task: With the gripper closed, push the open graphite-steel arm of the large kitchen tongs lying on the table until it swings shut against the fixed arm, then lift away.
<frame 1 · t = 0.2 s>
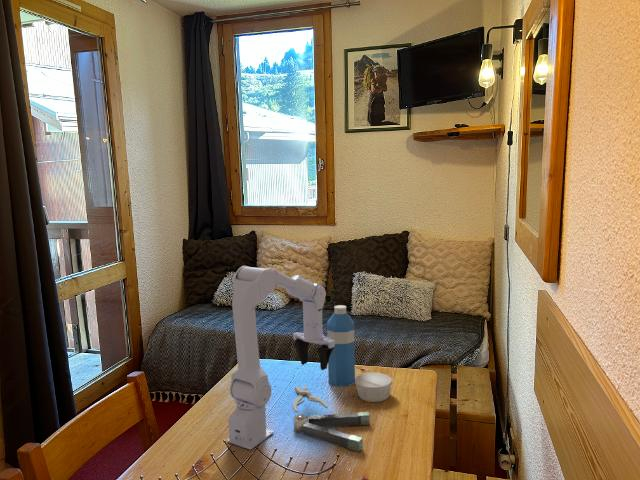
hand: (314, 366, 145), 10 cm above the table, tool pointing down, fingers open, 7 cm apart
tongs frame: (300, 429, 126), on the table
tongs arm: (338, 419, 128), point 2 cm above the table, hinge at 35.0°
pliers: (305, 400, 145), on the table
water bottle: (341, 381, 157), on the table
ramekin: (373, 396, 146), on the table
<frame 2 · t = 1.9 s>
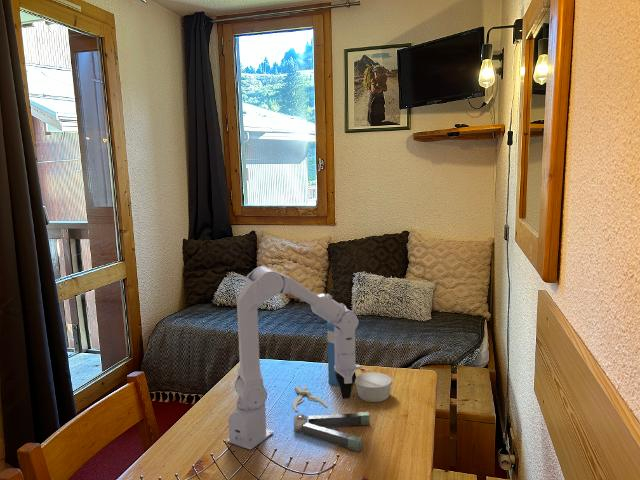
hand: (345, 397, 133), 5 cm above the table, tool pointing down, fingers closed
nothing on the table moved.
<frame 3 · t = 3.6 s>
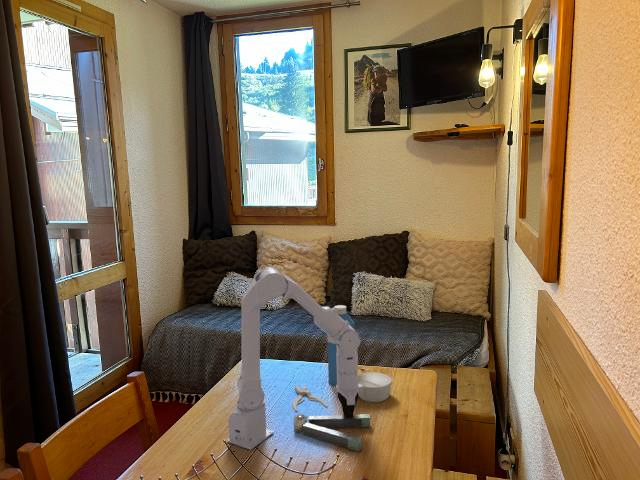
hand: (348, 418, 129), 1 cm above the table, tool pointing down, fingers closed
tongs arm: (339, 420, 127), point 2 cm above the table, hinge at 30.6°, touching gripper
everything else where it was.
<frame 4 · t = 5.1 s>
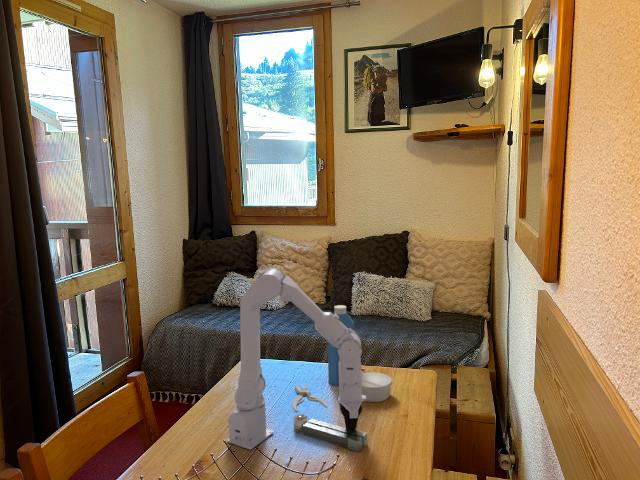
hand: (351, 431, 122), 1 cm above the table, tool pointing down, fingers closed
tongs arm: (336, 431, 122), point 2 cm above the table, hinge at -0.2°, touching gripper
everything else where it was.
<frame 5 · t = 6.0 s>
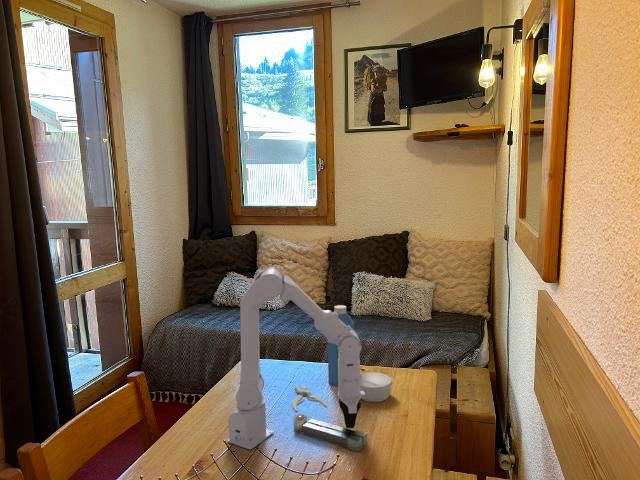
hand: (350, 426, 125), 1 cm above the table, tool pointing down, fingers closed
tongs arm: (336, 431, 122), point 2 cm above the table, hinge at -0.3°
everything else where it was.
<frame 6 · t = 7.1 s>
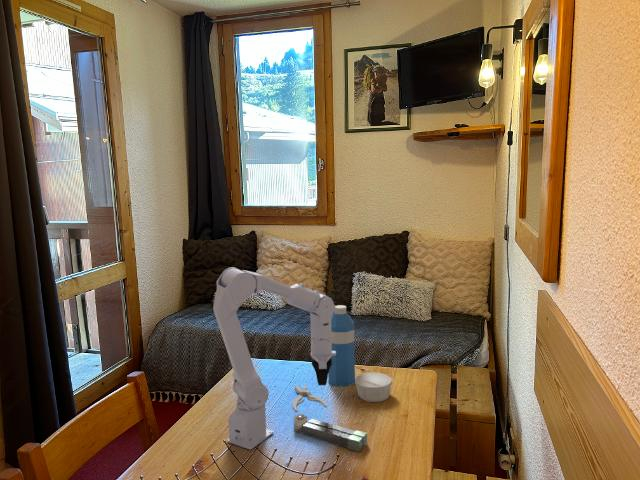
hand: (322, 384, 133), 9 cm above the table, tool pointing down, fingers closed
nothing on the table moved.
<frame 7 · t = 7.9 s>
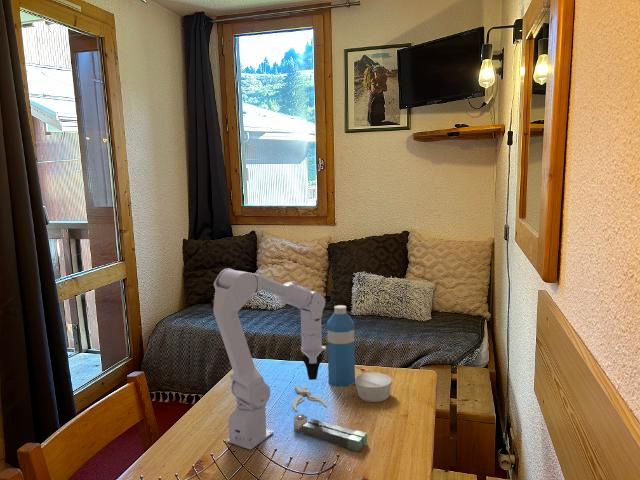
hand: (312, 378, 136), 9 cm above the table, tool pointing down, fingers closed
nothing on the table moved.
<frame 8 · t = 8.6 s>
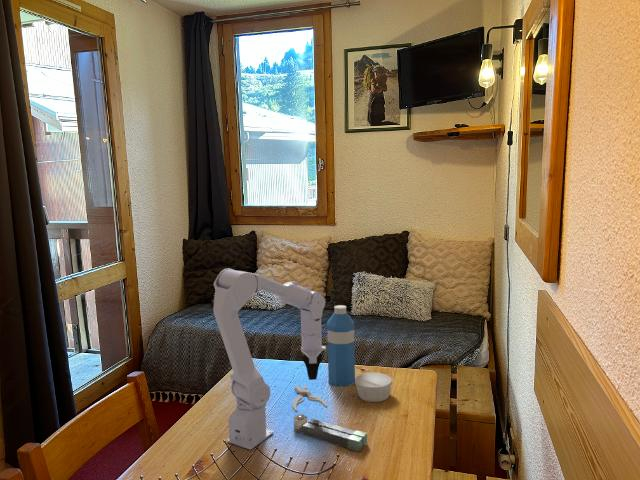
hand: (312, 378, 136), 9 cm above the table, tool pointing down, fingers closed
nothing on the table moved.
at the end: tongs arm at +0° (first picture: +35°) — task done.
